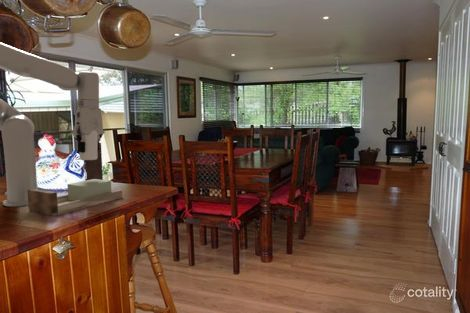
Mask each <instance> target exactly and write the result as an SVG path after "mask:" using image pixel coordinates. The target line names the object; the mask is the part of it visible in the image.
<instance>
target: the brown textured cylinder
mask: <svg viewBox="0 0 470 313" xmlns="http://www.w3.org/2000/svg"><path fill="white" fill-rule="evenodd" d="M102 157H103V156H102V142H101V141H99V151H97V160H84V168H85V169H86V172H87V179H86V178H85V181H86V180H91V179H99V180H104V178H103V177H104V175H103V158H102Z"/></svg>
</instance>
